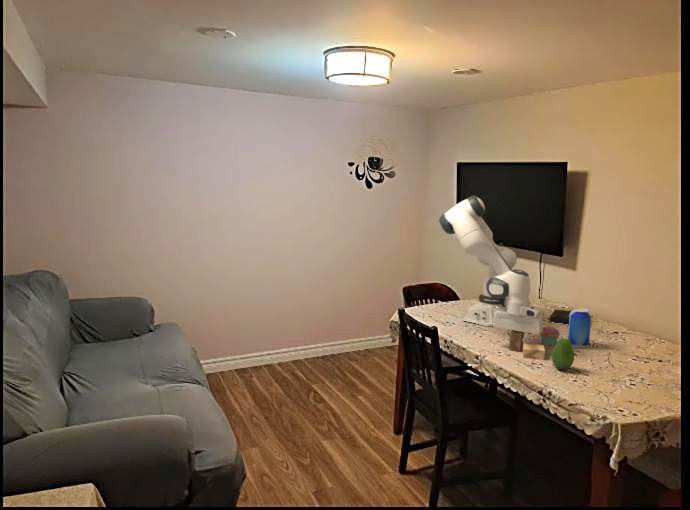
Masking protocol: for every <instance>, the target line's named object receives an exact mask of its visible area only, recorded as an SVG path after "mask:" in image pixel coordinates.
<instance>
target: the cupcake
mask: <svg viewBox="0 0 690 510" xmlns="http://www.w3.org/2000/svg"><path fill="white" fill-rule="evenodd" d="M548 321H549V320H548V318H547V316H545V326H543V331H542V333H540V334H538V335H539V336H540V337H541V341H542V343H543V344H545V345H554V344H555V342H556V340H557V338H558V337H559V336H560V332H559V330H558V329H557V328H556V327H554V326H549V323H548Z"/></svg>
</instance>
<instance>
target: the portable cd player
mask: <svg viewBox="0 0 690 510" xmlns="http://www.w3.org/2000/svg"><path fill="white" fill-rule="evenodd" d="M571 311H572V310H566V309H565V310H564V309H554V310H553V311H552V312H551V314H550V315H549V316H550V317H549V323H550V322H554V323H553V324H555V323H563V324H568V325H567V326H569V316H570V313H571ZM563 324H562V325H563Z"/></svg>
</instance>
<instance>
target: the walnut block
mask: <svg viewBox="0 0 690 510" xmlns="http://www.w3.org/2000/svg"><path fill="white" fill-rule="evenodd" d="M509 334H510V340H509V349H508V350H509V351H512V352H517V353H521V352H523V343H524V342H522V337H525V336H524V335H525V332H520V331H514V330H510V331H509Z"/></svg>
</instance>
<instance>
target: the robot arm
mask: <svg viewBox="0 0 690 510" xmlns="http://www.w3.org/2000/svg"><path fill="white" fill-rule="evenodd" d="M485 213H486V207H485V204H484V202H483V200H482V199H481V198H479V197H478V196H476V195H471V196H468V197H467V198H466V199H464V200H461V201H460V202H458V203H456V204H455V205H454V206H452V207H451V208H449V210H447V211H446V212H445V213H442V214H441V216H439V218H438V219H439V220H438V222H439V225H440V228H441V229H442V231H444V233H446V234H448V235H455V236H456V239H457V240H458V243H459V244H460V246H461V247H462V249H463V250H464V251H465V252H466V253H467V254H469V255H470V256H475V258H476V260H477V262H479V263H480V264H482V265H484V266H486V267H489V268H488V272H487V275H486V276H485V277H484V278H483V282H482V284H483V285H482V293H480V295H478V298H477V299H478V301H477V302H475V303H474V304H473V305H471V306H470V307H469V308H468V309H467V310H466V311H467V312H466V315H464V316H463V317H462V318H461V321H462V320H463V321H462V322H464V321H468V322H472V323H471V324H473V323H476V324H475V325H478V324H479V326H483V327H488V326H489V327H493V329H502V330H504V333H505V334H506V337H507V339H506V340H507V341H510V332H511V331H512V330H514V331H520V332H524V335H525V336H524V337H522V342H523V343H526V342H527V338H528V337H529V335H530V334H535V335H539V334H540V333H542V331H543V327H544V321H543V317H542V316H541V313H542V311H541V309H540V308H538V307H536V306H533V305H531V304H530V302H529V300H530V298H529V297H530V294H531V278H530V275H529V273H528V272H526V271H524V270H521V269H517V268H514V267H515V266H516V264H517V263H518V262H517V261H518V258H517V254H516V252H515V251H513V250H512V249H510V248H509V247H504V246H499V245H498V244H496V243H495V241H494V239H493V238H494V237H493V236H494V234H493V231H492V230H491V229H490V227H489V226H488V224H487V223H486V222H485V220H484V219H483V218H482V216H483V215H484V214H485ZM513 268H514V269H513ZM506 304H507V307H506ZM468 322H467V323H468Z"/></svg>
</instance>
